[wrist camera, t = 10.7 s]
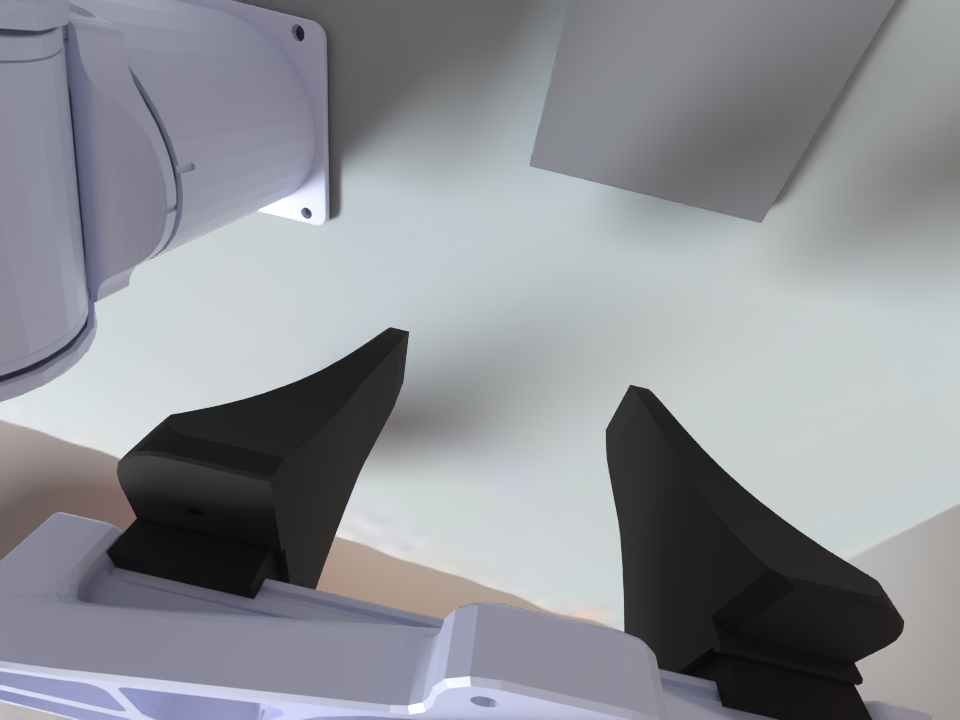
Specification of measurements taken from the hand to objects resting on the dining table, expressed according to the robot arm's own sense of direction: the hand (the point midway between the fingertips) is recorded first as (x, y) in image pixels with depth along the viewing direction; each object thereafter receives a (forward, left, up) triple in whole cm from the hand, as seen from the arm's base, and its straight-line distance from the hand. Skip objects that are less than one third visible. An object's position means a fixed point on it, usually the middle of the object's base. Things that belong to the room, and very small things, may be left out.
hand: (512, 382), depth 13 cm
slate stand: (+4, +10, -9) cm, 14 cm away
